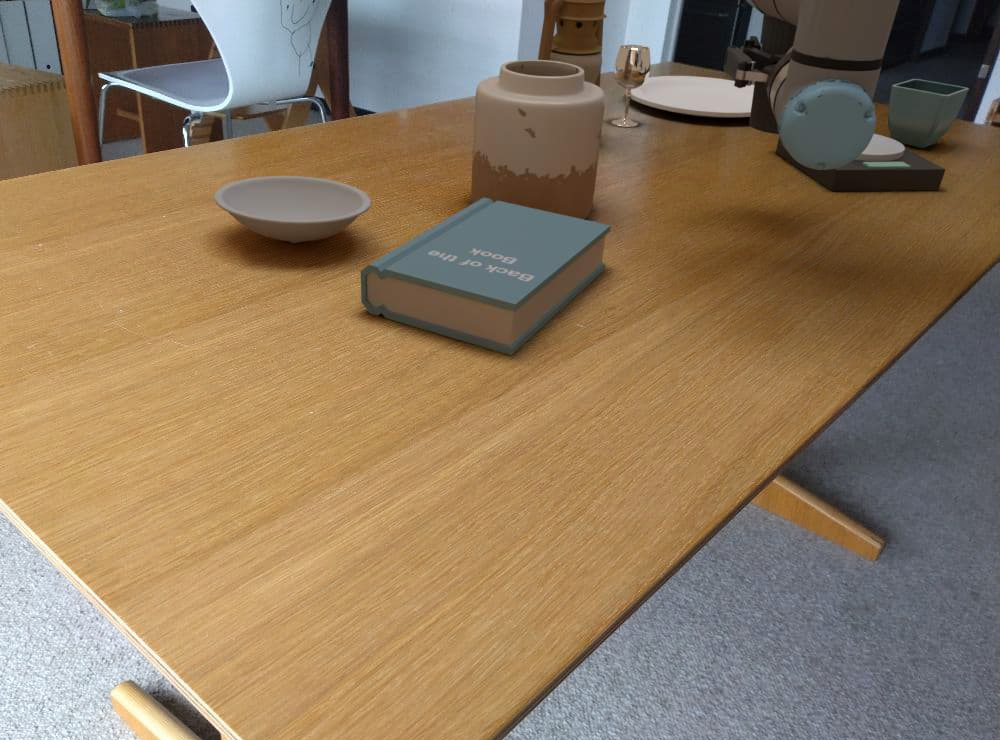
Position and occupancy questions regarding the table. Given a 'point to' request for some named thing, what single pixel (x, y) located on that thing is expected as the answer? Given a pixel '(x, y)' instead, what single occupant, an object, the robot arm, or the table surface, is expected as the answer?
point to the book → (487, 273)
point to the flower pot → (923, 111)
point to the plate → (695, 96)
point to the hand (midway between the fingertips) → (787, 50)
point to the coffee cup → (775, 42)
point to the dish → (292, 206)
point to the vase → (538, 137)
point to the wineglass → (631, 74)
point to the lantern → (574, 35)
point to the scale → (877, 169)
